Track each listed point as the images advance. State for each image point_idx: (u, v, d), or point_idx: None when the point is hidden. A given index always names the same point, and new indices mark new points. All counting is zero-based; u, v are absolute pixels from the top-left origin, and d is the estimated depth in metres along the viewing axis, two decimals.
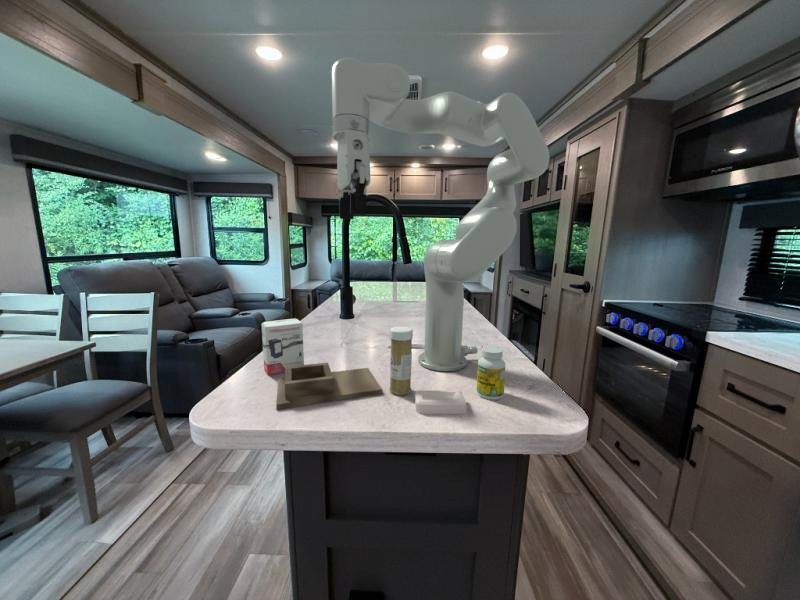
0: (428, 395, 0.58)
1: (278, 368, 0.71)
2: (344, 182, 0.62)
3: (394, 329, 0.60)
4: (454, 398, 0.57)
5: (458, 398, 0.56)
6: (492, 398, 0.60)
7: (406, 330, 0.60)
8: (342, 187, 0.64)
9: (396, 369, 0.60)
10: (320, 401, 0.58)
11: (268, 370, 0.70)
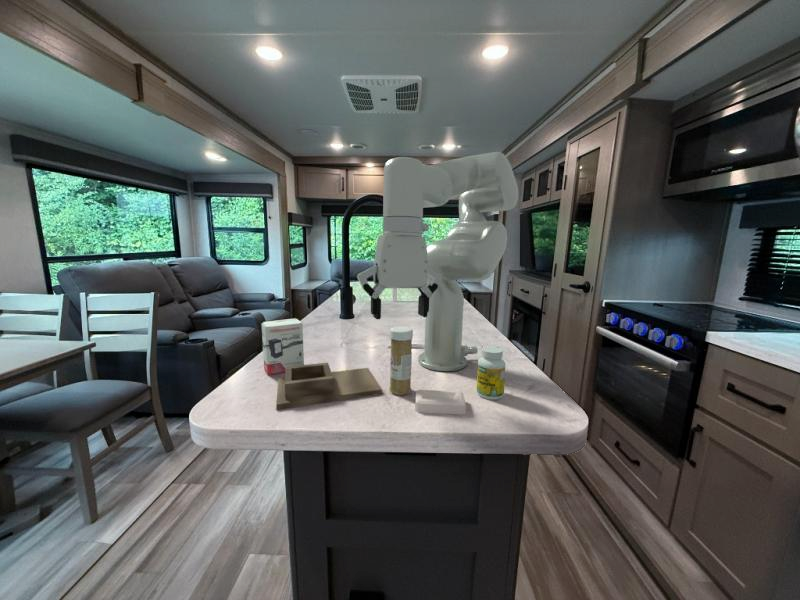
0: (428, 395, 0.58)
1: (278, 368, 0.71)
2: (414, 285, 0.58)
3: (394, 329, 0.60)
4: (454, 399, 0.57)
5: (458, 399, 0.56)
6: (492, 398, 0.60)
7: (406, 330, 0.60)
8: (399, 287, 0.57)
9: (396, 369, 0.60)
10: (320, 401, 0.58)
11: (268, 370, 0.70)
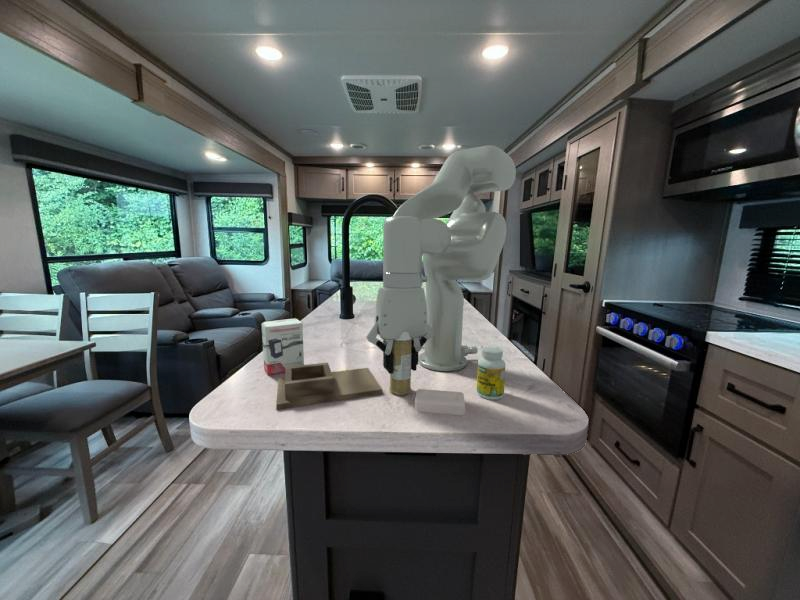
0: (429, 394, 0.58)
1: (278, 368, 0.71)
2: (414, 335, 0.60)
3: None
4: (454, 399, 0.57)
5: (458, 399, 0.56)
6: (492, 398, 0.60)
7: None
8: None
9: (396, 369, 0.60)
10: (320, 401, 0.58)
11: (268, 370, 0.70)
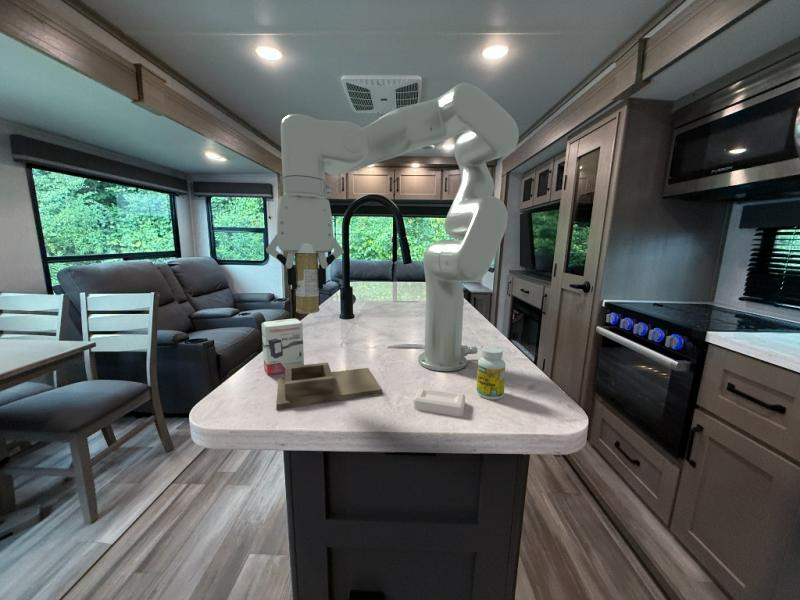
0: (430, 394, 0.59)
1: (278, 368, 0.71)
2: (318, 249, 0.57)
3: None
4: (454, 400, 0.56)
5: (457, 400, 0.55)
6: (492, 398, 0.60)
7: None
8: None
9: (299, 284, 0.57)
10: (320, 401, 0.58)
11: (268, 370, 0.70)
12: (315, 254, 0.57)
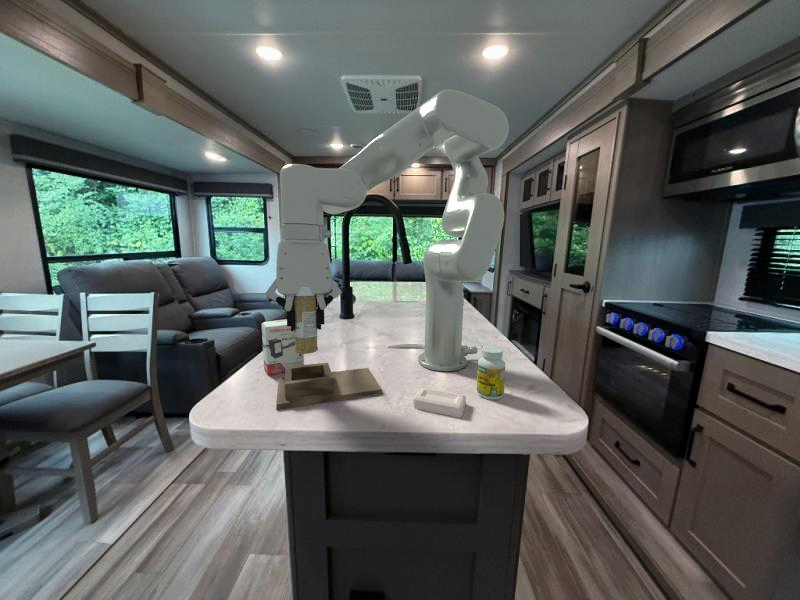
0: (430, 393, 0.59)
1: (278, 368, 0.71)
2: (316, 291, 0.58)
3: None
4: (454, 401, 0.56)
5: (456, 401, 0.55)
6: (492, 398, 0.60)
7: None
8: None
9: (298, 326, 0.58)
10: (320, 401, 0.58)
11: (268, 370, 0.70)
12: (313, 296, 0.59)
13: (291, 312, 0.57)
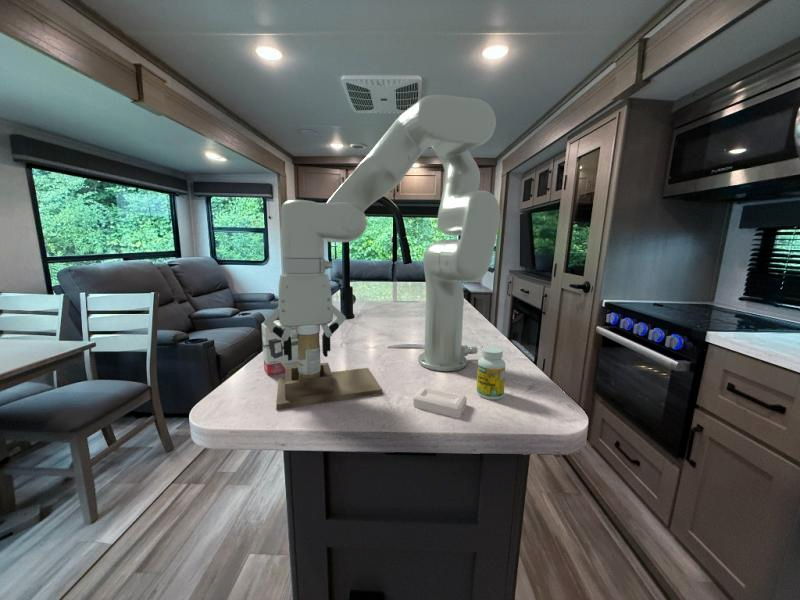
0: (431, 393, 0.59)
1: (278, 368, 0.71)
2: (317, 322, 0.59)
3: None
4: (454, 401, 0.56)
5: (456, 402, 0.55)
6: (492, 398, 0.60)
7: None
8: (302, 325, 0.58)
9: (301, 363, 0.60)
10: (320, 401, 0.58)
11: (268, 370, 0.70)
12: (317, 334, 0.60)
13: (288, 342, 0.58)
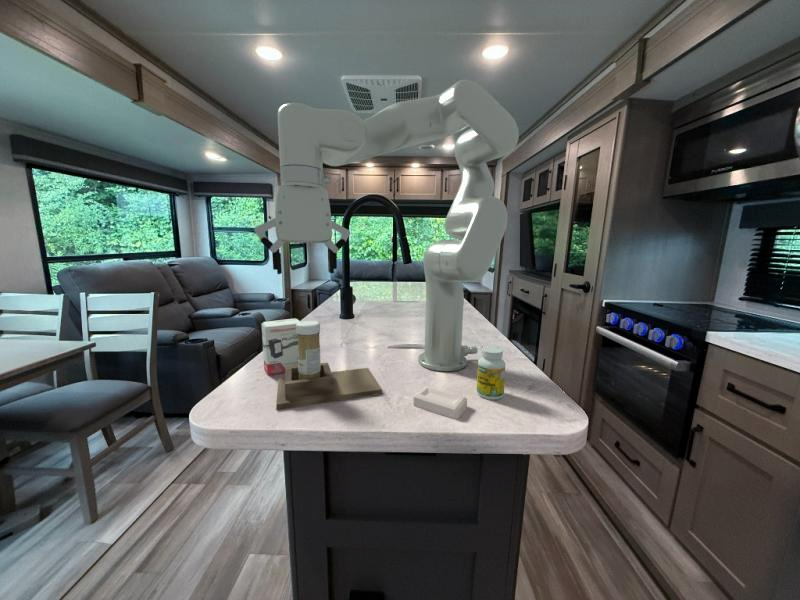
0: (432, 393, 0.59)
1: (278, 368, 0.71)
2: (316, 239, 0.57)
3: (299, 323, 0.60)
4: (453, 402, 0.56)
5: (454, 403, 0.55)
6: (492, 398, 0.60)
7: (311, 324, 0.59)
8: (300, 241, 0.56)
9: (301, 363, 0.60)
10: (320, 401, 0.58)
11: (268, 370, 0.70)
12: (317, 334, 0.60)
13: (277, 253, 0.55)
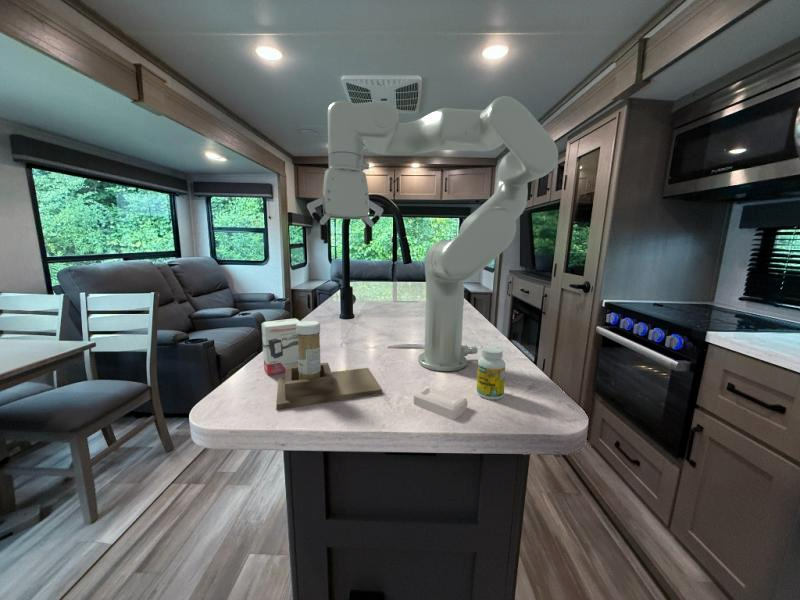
0: (433, 392, 0.59)
1: (278, 368, 0.71)
2: (356, 214, 0.68)
3: (300, 323, 0.60)
4: (452, 402, 0.55)
5: (453, 403, 0.54)
6: (492, 398, 0.60)
7: (311, 324, 0.59)
8: (343, 216, 0.67)
9: (301, 363, 0.60)
10: (320, 401, 0.58)
11: (268, 370, 0.70)
12: (317, 334, 0.60)
13: (325, 225, 0.67)
